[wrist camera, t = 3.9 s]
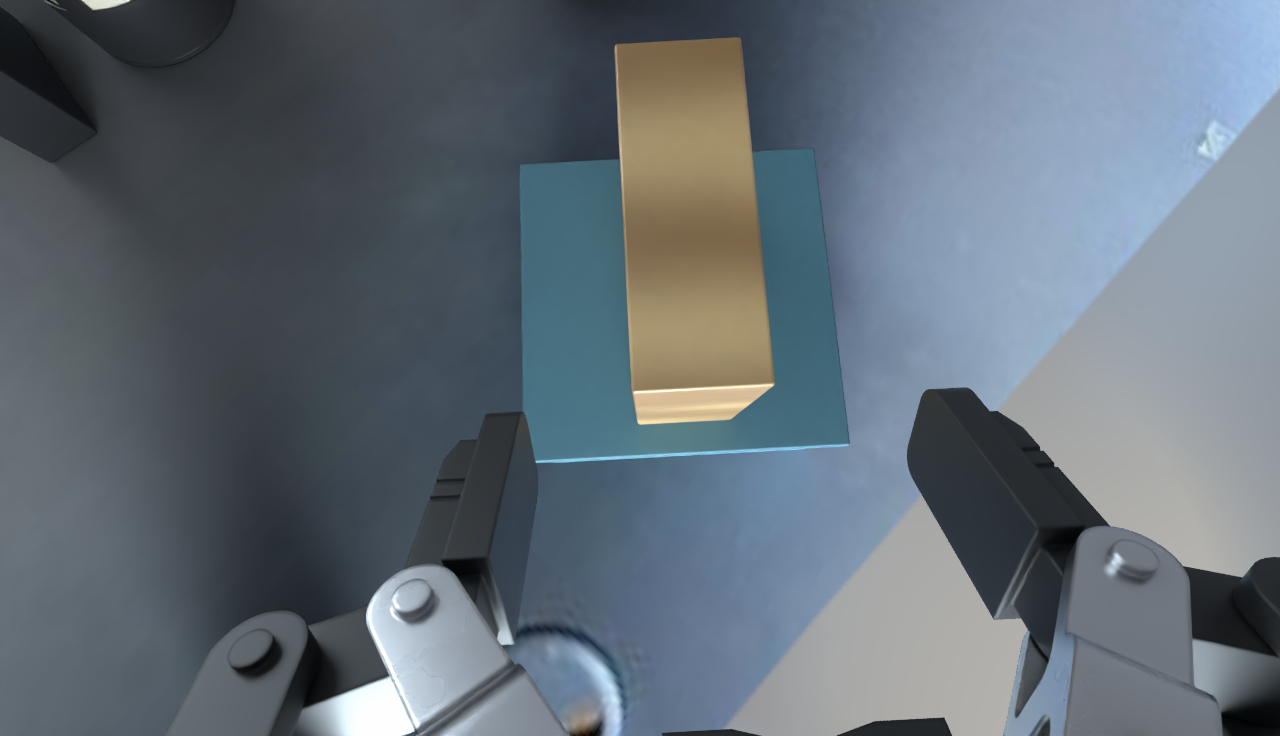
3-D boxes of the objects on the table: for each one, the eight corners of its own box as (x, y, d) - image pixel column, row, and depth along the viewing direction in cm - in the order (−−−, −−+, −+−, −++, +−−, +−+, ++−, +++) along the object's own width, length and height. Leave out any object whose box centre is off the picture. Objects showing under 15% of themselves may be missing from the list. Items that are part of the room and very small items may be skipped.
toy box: (543, 225, 31) (518, 163, 25) (782, 212, 31) (814, 147, 25) (549, 467, 28) (523, 462, 22) (808, 453, 28) (850, 445, 22)
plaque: (625, 184, 24) (613, 42, 17) (711, 179, 24) (741, 35, 17) (637, 424, 23) (631, 393, 15) (731, 419, 23) (775, 385, 15)
